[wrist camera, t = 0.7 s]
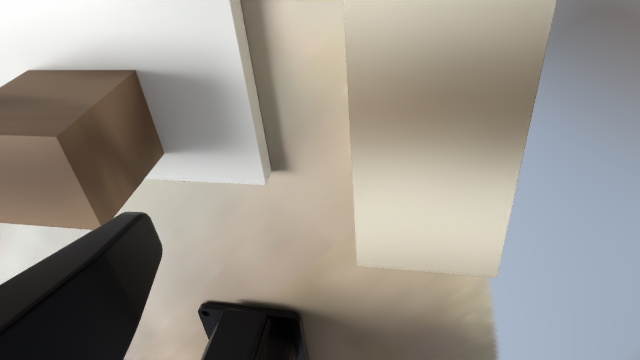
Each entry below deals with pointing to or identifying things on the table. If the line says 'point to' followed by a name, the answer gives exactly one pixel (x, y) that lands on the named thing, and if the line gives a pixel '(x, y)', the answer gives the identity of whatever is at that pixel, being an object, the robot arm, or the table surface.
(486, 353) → the table surface
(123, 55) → the grey base board
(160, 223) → the table surface
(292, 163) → the table surface
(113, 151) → the walnut posts
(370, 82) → the maple beam block
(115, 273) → the robot arm
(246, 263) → the table surface
